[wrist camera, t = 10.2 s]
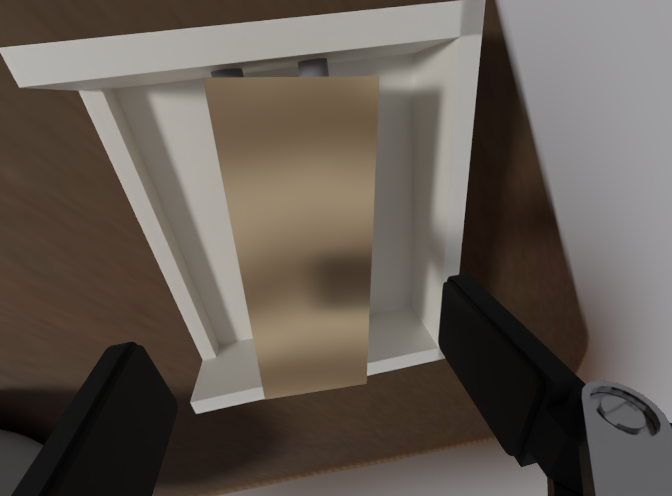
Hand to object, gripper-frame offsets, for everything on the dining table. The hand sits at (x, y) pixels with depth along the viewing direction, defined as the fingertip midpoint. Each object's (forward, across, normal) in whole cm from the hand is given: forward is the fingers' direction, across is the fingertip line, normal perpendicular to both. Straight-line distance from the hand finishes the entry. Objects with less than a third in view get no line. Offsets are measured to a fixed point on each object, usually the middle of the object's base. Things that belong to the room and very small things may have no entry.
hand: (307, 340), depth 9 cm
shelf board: (+8, 0, +1) cm, 9 cm away
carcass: (+13, 0, +1) cm, 13 cm away
